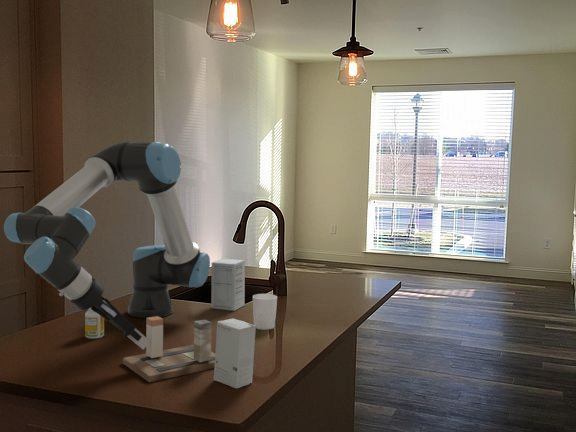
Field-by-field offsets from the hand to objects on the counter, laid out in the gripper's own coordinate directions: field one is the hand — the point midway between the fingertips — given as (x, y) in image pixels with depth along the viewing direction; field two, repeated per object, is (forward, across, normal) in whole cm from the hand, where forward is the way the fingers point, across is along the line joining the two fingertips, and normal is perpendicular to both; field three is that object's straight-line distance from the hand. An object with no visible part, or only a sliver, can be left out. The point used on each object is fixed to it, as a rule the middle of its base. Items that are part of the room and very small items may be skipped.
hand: (145, 344), depth 161 cm
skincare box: (+13, +22, +5) cm, 26 cm away
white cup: (+37, -13, +29) cm, 49 cm away
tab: (+5, -1, -1) cm, 5 cm away
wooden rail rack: (+9, +3, +1) cm, 9 cm away
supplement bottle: (+3, -32, -5) cm, 32 cm away
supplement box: (+40, -41, +32) cm, 65 cm away
